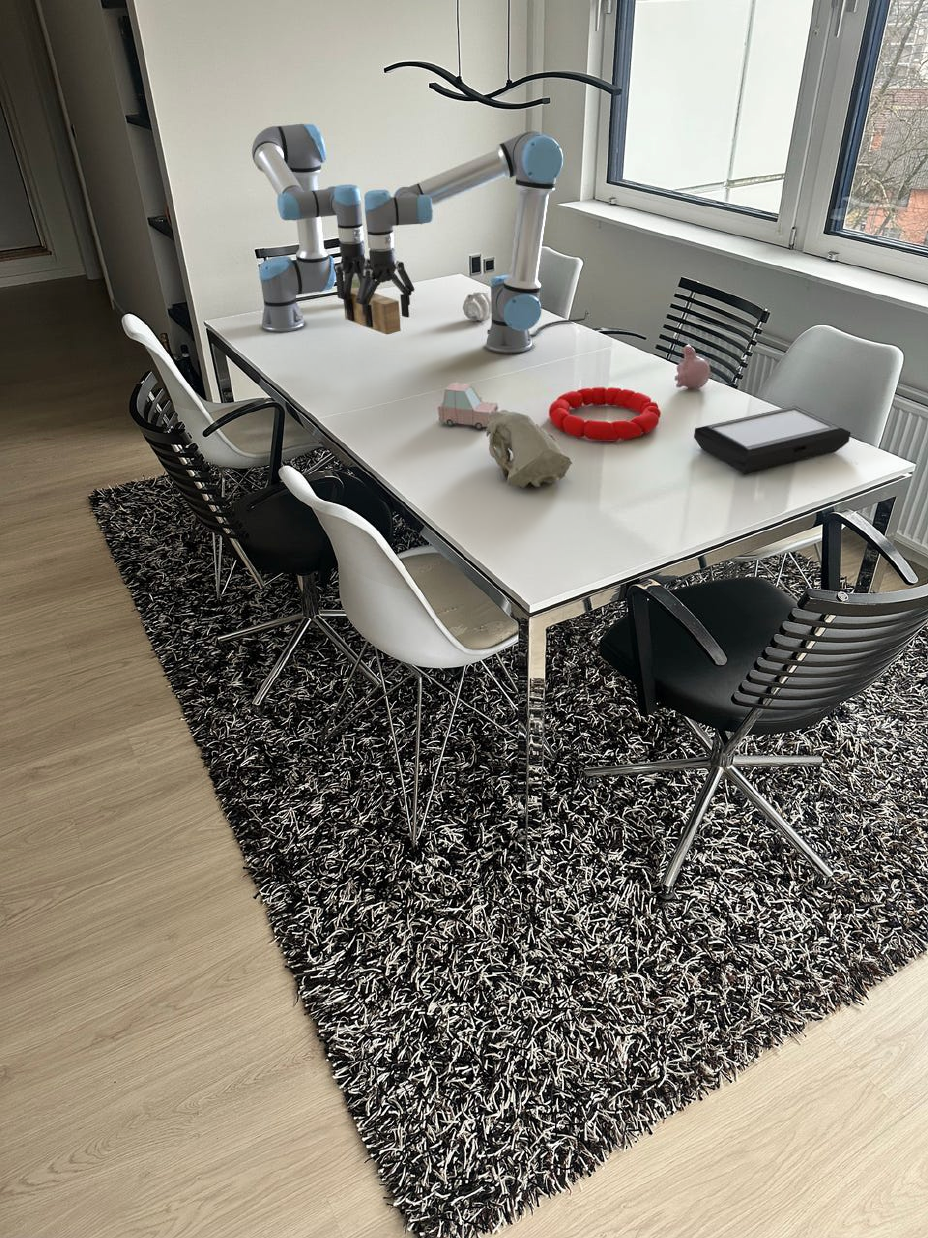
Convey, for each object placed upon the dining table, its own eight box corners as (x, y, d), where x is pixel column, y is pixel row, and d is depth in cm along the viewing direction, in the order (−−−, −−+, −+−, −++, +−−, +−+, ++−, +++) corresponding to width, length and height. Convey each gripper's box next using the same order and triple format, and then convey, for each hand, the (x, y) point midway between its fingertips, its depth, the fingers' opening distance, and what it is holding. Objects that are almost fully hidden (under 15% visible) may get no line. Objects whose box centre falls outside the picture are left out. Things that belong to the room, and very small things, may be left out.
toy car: (488, 432, 240) (488, 396, 234) (436, 426, 244) (434, 390, 239) (499, 419, 247) (499, 384, 241) (448, 413, 252) (447, 379, 246)
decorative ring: (589, 435, 224) (684, 402, 234) (527, 398, 247) (617, 369, 256) (589, 461, 229) (683, 427, 238) (529, 422, 251) (617, 393, 260)
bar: (345, 319, 287) (342, 290, 282) (358, 315, 290) (356, 286, 284) (387, 334, 272) (384, 304, 267) (400, 330, 275) (398, 300, 270)
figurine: (665, 387, 264) (669, 347, 257) (693, 380, 268) (698, 340, 261) (686, 396, 257) (690, 355, 250) (714, 388, 262) (720, 348, 255)
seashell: (455, 320, 326) (454, 292, 321) (490, 313, 332) (490, 286, 326) (468, 327, 319) (468, 298, 313) (504, 320, 325) (504, 292, 319)
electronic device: (746, 454, 209) (695, 425, 224) (742, 478, 212) (692, 448, 228) (851, 429, 219) (795, 402, 234) (846, 452, 223) (791, 425, 238)
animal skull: (496, 517, 219) (521, 479, 201) (463, 429, 225) (484, 384, 207) (557, 503, 225) (586, 465, 206) (523, 417, 231) (549, 373, 212)
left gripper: (333, 248, 265) (341, 326, 278) (383, 238, 274) (388, 314, 288) (319, 244, 270) (328, 321, 283) (369, 234, 279) (375, 309, 293)
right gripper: (353, 258, 253) (361, 332, 265) (422, 242, 266) (427, 314, 278) (339, 254, 258) (347, 327, 270) (407, 239, 271) (412, 310, 283)
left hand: (358, 317), depth 285 cm, fingers closed on bar, 5 cm apart
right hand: (387, 321), depth 274 cm, fingers open, 13 cm apart
